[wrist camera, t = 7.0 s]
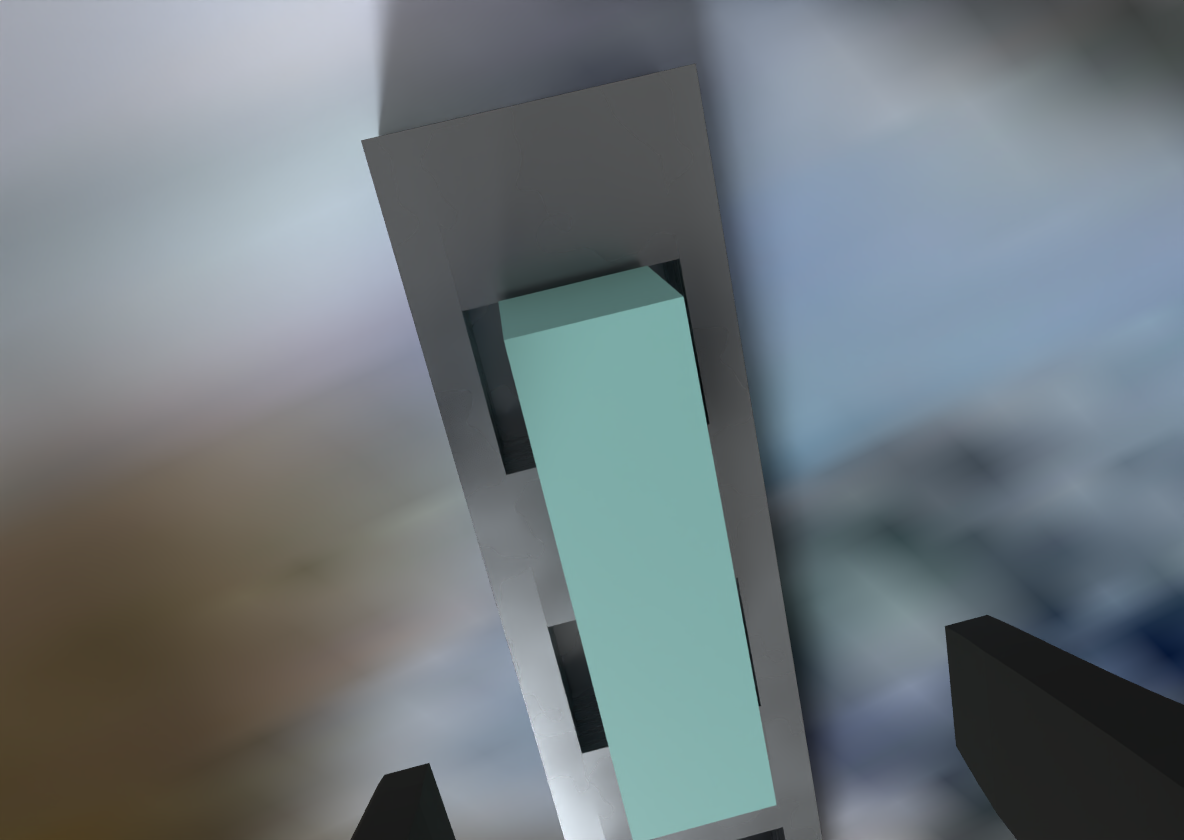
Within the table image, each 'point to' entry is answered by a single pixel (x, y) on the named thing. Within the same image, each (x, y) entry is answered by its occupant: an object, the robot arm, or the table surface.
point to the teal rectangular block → (642, 543)
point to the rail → (492, 408)
